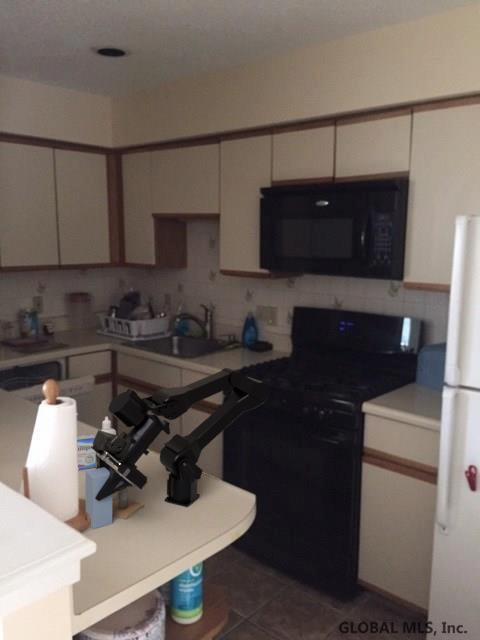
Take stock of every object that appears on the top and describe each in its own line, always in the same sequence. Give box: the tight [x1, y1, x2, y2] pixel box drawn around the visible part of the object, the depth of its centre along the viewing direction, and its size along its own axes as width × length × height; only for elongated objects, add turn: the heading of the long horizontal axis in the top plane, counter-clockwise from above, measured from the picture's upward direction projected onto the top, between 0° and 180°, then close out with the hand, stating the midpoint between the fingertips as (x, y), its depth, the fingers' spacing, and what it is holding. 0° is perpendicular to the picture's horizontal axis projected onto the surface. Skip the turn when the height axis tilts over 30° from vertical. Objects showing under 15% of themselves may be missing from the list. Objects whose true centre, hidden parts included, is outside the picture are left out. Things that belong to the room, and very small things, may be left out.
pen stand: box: [112, 487, 145, 520], centre depth 132 cm, size 7×7×5 cm
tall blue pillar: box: [84, 467, 113, 530], centre depth 125 cm, size 4×4×12 cm
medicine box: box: [76, 432, 97, 471], centre depth 154 cm, size 8×4×9 cm, turn 117°
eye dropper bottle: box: [96, 416, 117, 456], centre depth 161 cm, size 4×6×12 cm
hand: (92, 495), depth 124 cm, fingers closed on tall blue pillar, 4 cm apart
